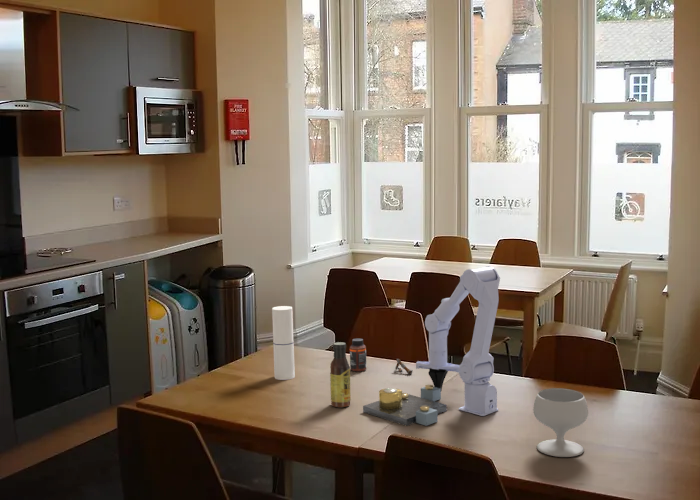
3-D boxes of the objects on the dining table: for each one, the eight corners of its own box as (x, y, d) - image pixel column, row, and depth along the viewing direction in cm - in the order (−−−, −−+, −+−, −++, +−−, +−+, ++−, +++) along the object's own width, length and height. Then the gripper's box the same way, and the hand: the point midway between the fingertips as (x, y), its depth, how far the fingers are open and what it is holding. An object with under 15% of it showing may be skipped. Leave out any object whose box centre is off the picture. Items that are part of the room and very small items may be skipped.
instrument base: (446, 411, 246) (446, 387, 245) (406, 425, 233) (406, 401, 232) (403, 398, 258) (402, 376, 258) (363, 412, 246) (362, 389, 245)
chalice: (578, 439, 220) (578, 385, 218) (595, 458, 206) (596, 402, 204) (527, 441, 219) (527, 387, 217) (541, 460, 205) (541, 403, 203)
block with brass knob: (437, 421, 236) (437, 406, 235) (426, 425, 232) (426, 411, 232) (427, 418, 239) (427, 404, 238) (416, 422, 235) (415, 408, 235)
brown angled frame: (396, 367, 293) (399, 357, 291) (409, 380, 287) (413, 369, 286) (392, 368, 292) (395, 357, 290) (405, 381, 286) (409, 370, 284)
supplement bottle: (369, 368, 294) (369, 338, 293) (361, 372, 289) (360, 342, 288) (355, 366, 297) (355, 336, 296) (347, 370, 292) (346, 340, 291)
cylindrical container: (271, 379, 284) (268, 309, 281) (279, 373, 291) (276, 305, 288) (290, 380, 282) (288, 310, 279) (297, 374, 289) (295, 306, 285)
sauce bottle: (348, 409, 250) (347, 346, 247) (328, 408, 251) (327, 345, 248) (352, 402, 256) (351, 341, 253) (333, 401, 257) (331, 340, 255)
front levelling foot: (440, 398, 257) (440, 385, 256) (432, 401, 254) (432, 388, 253) (428, 395, 260) (428, 382, 260) (420, 398, 258) (420, 385, 257)
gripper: (412, 351, 257) (413, 392, 259) (456, 355, 251) (456, 397, 253) (419, 346, 264) (420, 386, 265) (462, 350, 258) (462, 391, 259)
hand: (438, 391), depth 260 cm, fingers closed
